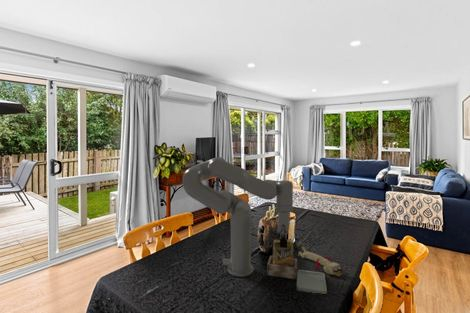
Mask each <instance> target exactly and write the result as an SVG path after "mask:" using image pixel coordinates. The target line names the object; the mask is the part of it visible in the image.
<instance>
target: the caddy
mask: <svg viewBox="0 0 470 313" xmlns="http://www.w3.org/2000/svg"><path fill="white" fill-rule="evenodd" d="M266 272H267V273H266V275H267V276H272V277H278V278H284V279H285V278H286V279H291V280H297V273H298V258H294V257H293V267H287V266H280V265H273V255H269V258H268V261H267V266H266Z"/></svg>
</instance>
